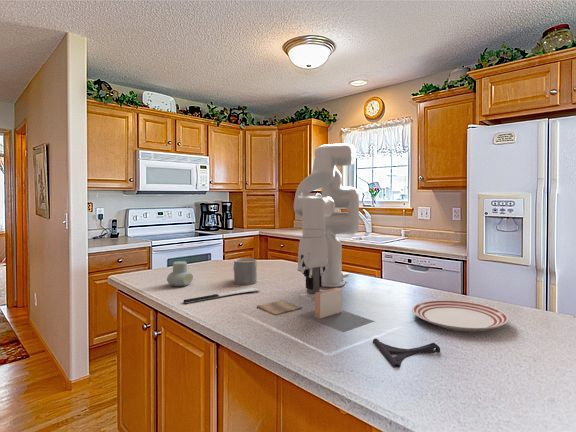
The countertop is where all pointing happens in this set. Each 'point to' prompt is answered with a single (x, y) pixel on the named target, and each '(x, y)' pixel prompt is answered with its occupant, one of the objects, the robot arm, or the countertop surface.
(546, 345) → the countertop surface
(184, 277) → the air freshener
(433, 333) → the countertop surface
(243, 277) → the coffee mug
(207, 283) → the countertop surface
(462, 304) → the dinner plate
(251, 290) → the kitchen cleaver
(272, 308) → the board
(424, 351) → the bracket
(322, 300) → the block
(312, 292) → the white base with post
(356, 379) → the countertop surface
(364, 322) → the mat
